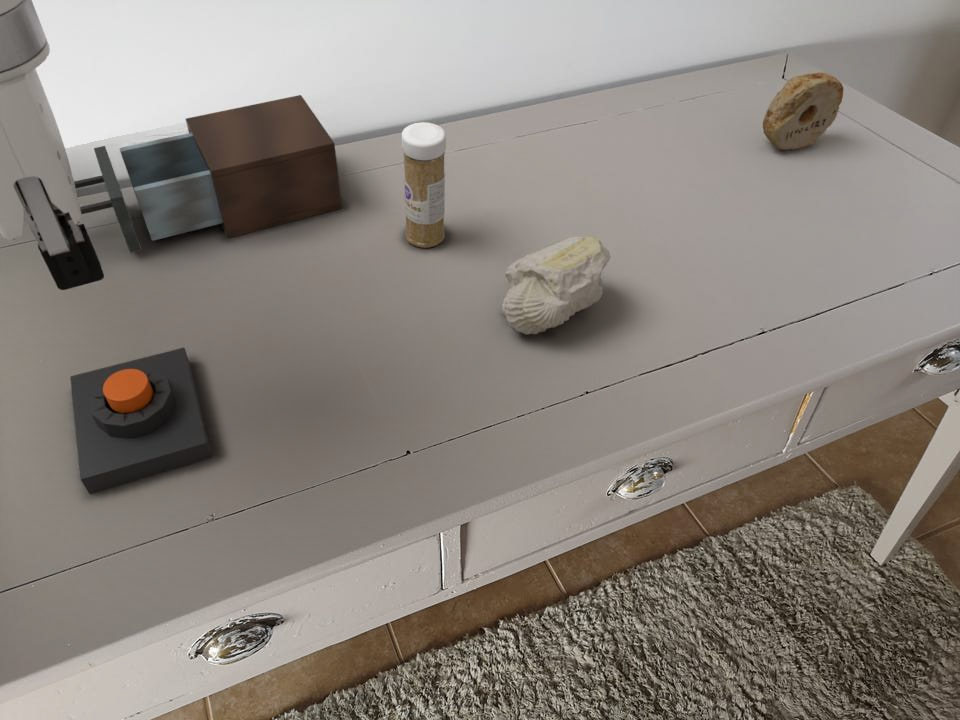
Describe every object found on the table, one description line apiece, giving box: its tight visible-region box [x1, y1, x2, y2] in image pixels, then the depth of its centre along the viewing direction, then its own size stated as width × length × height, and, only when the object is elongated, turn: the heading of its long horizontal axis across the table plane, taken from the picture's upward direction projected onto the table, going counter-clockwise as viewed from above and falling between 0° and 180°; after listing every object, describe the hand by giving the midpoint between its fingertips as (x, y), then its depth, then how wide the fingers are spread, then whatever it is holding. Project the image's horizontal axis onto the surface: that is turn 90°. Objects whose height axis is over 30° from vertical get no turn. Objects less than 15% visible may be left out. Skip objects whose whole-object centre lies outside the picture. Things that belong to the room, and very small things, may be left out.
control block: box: [69, 347, 213, 494], centre depth 68 cm, size 12×10×4 cm
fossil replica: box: [501, 236, 611, 335], centre depth 78 cm, size 12×8×10 cm
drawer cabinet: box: [185, 94, 343, 239], centre depth 90 cm, size 14×12×9 cm
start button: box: [103, 369, 153, 413], centre depth 66 cm, size 4×4×2 cm
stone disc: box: [762, 72, 844, 151], centre depth 102 cm, size 10×4×10 cm, turn 111°
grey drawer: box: [74, 132, 223, 254], centre depth 85 cm, size 18×10×7 cm, turn 117°
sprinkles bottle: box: [401, 121, 447, 249], centre depth 84 cm, size 5×5×13 cm
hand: (80, 278), depth 58 cm, fingers closed
